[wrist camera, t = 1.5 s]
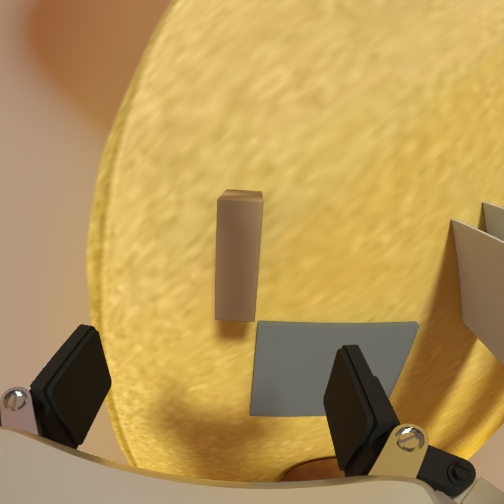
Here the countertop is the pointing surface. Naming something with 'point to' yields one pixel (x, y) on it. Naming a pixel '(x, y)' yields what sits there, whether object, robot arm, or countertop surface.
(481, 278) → the thin beige panel
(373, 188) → the countertop surface
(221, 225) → the brown angular block
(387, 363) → the mat
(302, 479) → the ceramic pitcher
